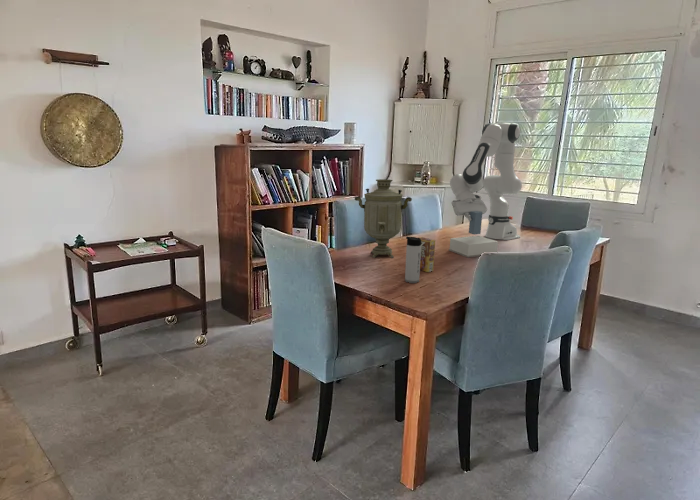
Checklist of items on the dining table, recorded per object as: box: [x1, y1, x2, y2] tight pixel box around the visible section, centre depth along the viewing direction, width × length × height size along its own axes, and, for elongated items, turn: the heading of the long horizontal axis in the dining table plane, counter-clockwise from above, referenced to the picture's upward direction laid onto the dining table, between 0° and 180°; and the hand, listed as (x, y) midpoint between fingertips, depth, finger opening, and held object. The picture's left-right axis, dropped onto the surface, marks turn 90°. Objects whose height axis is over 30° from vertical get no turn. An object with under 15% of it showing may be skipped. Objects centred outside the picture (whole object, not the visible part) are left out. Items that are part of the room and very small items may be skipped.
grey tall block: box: [468, 211, 483, 235], centre depth 252 cm, size 4×4×12 cm
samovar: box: [354, 178, 413, 259], centre depth 239 cm, size 30×26×40 cm
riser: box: [448, 235, 499, 259], centre depth 255 cm, size 21×17×7 cm
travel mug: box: [404, 236, 421, 284], centre depth 201 cm, size 6×7×20 cm
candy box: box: [417, 236, 436, 273], centre depth 219 cm, size 9×4×15 cm, turn 39°
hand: (475, 220), depth 252 cm, fingers closed on grey tall block, 4 cm apart
